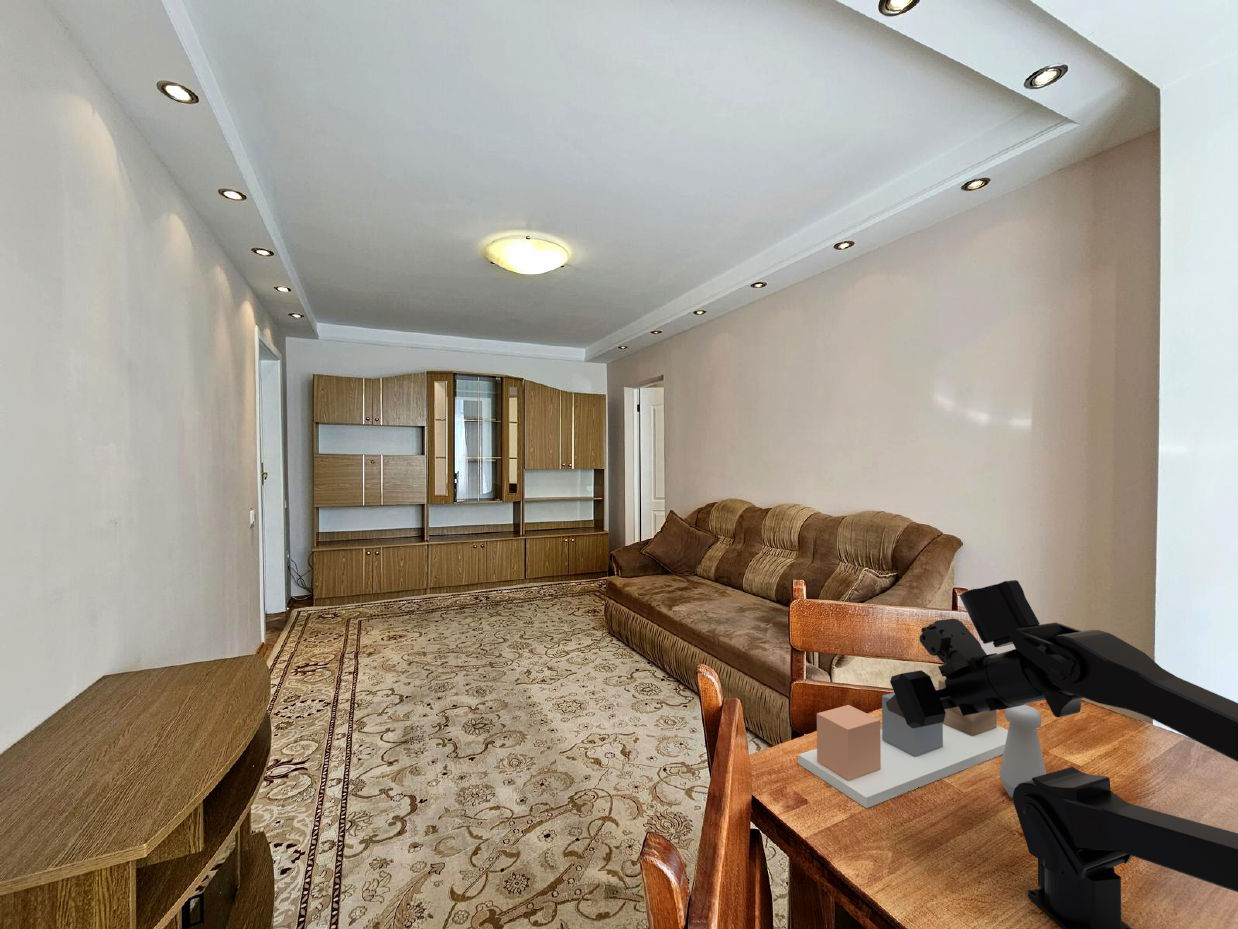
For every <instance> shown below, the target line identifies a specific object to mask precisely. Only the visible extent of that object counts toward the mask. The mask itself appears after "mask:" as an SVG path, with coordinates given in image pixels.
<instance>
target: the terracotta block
mask: <svg viewBox="0 0 1238 929" xmlns="http://www.w3.org/2000/svg"><path fill="white" fill-rule="evenodd" d="M880 729H881V719H879V718H877V717H875V716H873V715H871V714H868V713H866V712H864V711H862V710H860V709H858V708H856V707H854V706H851V704H847V705H843V706H840V707H836V708H832V709H829V710H825V711H820V712H817V713H816V749H817V761H818V762H819V763H821V764H822V765H824V766H826V767H827V768H829V769H830V770H832V771H834V772H835V773H837V774H838V775H840V776H842V777H843V778H845V779H846V780H851V779H854V778H857V777H860V776H862V775H865V774H868V773H871V772H874V771H876V770H879V769H881V741H880Z"/></svg>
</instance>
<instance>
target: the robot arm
mask: <svg viewBox="0 0 1238 929" xmlns="http://www.w3.org/2000/svg"><path fill="white" fill-rule="evenodd" d="M959 598H960V599H961V600H960V601H961V602H962V605H964V609H965V610H966V612H967V614H968V617H969V618H970V620H971V622H972V624H973V627H974V628H975V631H976V633H977V634H978V636H979V639H980V641H981V642H982V643H983V644H984V645H986V644H990V643H992V645H993V647H994V648H1000V647H1006V646H1011V645H1013V647H1014V649H1011V650H1006V651H1004V652H1001V653H997V652H995V653H990V654H987V653H986V652H985V650H984V648H983V647H982V645H981V644H982V643H980V642H979V640H978V639H977V637H975V636H974V634H973V633H972V632H971V631H970V630H969V628H968V627H967V626H966V625H965V624H964V623H963V622H962V621H961V620H959V619H957V618H947V619H940V620H935V621H934V622H933V623H930V624H928V626H923V627H922V628H921V629H920V631H921V634H920V635H919V636H918V637H919V639H918V640H919V642H920V644H921V645H922V646H923V647H924V649H925V650H926V651H927V653H928V654H929V655H930V656H934V657H935V656H936V657H937V658H938V659H939V661H941V662H942V663H944V664H941V665H938V670H939V671H940V675H941V676H942V677H944V679H945V678H946V679H945V686H946V687H945V688H943V689H940V690H939V689H936V687H935V684H934V682H933V680H932V678H931V676H930V675H929V674H928V673H926V672H925V671H923V670H914V671H908V672H902V673H898V674H895V675H892V676H891V677H890V680H889V683H890V685H891V689H892V691H893V693H895V695H894V696H893V697H891V698H890V699H889V700H888V701H887V702H886V706H887V708H888V710H889V711H890V712H892V713H895V714H897V715H899V716H901V717H903V718H905V720H906V723H907V725H908V726H910V727H911V728H912V729H913V728H918V727H924V726H928V725H933V724H938V723H942V722H944V719H945V715H946V712H945V710H944V709H949V708H954V707H959V708H960V710H961V713H962V715H963V716H965V715H970V714H975V713H980V712H985V711H993V710H996V711H997V710H998V711H1002V710H1005V709H1007V708H1012V707H1017V706H1021V705H1027V704H1031V703H1036V702H1041V701H1042V702H1043V701H1045V702H1046V704H1047V705H1048V707H1049V709H1050V711H1051V713H1052V715H1053V716H1054V717H1056V718H1063V717H1067V716H1071V715H1075V714H1080V713H1081V708H1082V700H1083V698H1084V699H1086V700H1089V701H1092V702H1094V703H1097V704H1101V705H1105V706H1111V707H1114V708H1119V709H1123V710H1129V711H1131V712H1134V713H1137V714H1140V715H1142V716H1145V717H1147V718H1149V719H1152V720H1153V721H1155V722H1157V723H1160V724H1161V725H1163V726H1166V727H1167V728H1169V729H1171V730H1174V731H1175V732H1178V733H1179V734H1182V735H1183V736H1185V737H1187V738H1189V739H1192V740H1193V741H1194V742H1195V741H1196V742H1198V743H1199V744H1201V745H1203V746H1205V747H1207V748H1209V749H1211V750H1213V751H1215V752H1217V753H1219V754H1221V755H1223V756H1225V757H1228V758H1229V759H1231V760H1233V761H1236V762H1237V763H1238V702H1236V701H1234V700H1231V699H1229V698H1227V697H1224V696H1222V695H1220V694H1218V693H1217V692H1214V691H1210V690H1209V689H1206V688H1203V687H1201V686H1199V685H1197V684H1196V683H1195V684H1194V683H1192V682H1190V681H1187V680H1185V679H1183V678H1181V677H1178V676H1176V675H1174V673H1171V672H1169V671H1168V670H1166V669H1164V668H1163V667H1161V666H1160V665H1159V664H1158V663H1157V662H1156V661H1155V660H1154V659H1153V658H1151V657H1150V656H1149V655H1148V654H1147V653H1145V652H1144V651H1143V650H1141V649H1139V648H1136V647H1135V646H1133V645H1132V644H1130V643H1128V642H1126V641H1124V640H1123V639H1121V638H1120V637H1118V636H1117V635H1114V634H1112V633H1110V632H1107V631H1103V630H1100V629H1091V630H1080V629H1076V628H1074V627H1072V626H1071V627H1070V626H1067V625H1064V624H1062V623H1058V622H1056V621H1055V622H1049V623H1043V624H1041V623H1040V621H1039V620H1038V617H1037V616H1036V614H1035V612H1034V610H1033V609H1032V607H1031V605H1030V603H1029V601H1028V600H1027V598H1026V596H1025V592H1024V589H1023V587H1022V585H1021V584H1020V582H1019V581H1018V580H1016V579H1015V580H1012V579H1011V580H1004V581H1002V582H999V583H997V584H992V585H988V586H984V587H979V588H971V589H969V590H967V591H964V592H962V593H961V594H960V595H959ZM1012 801H1013V806H1014V809H1015V812H1016V815H1017V818H1018V821H1019V823H1020V827H1021V831H1022V833H1023V837H1024V840H1025V844H1026V846H1027V851H1028V852H1029V854H1030V855H1031V856H1033V857H1034V858H1036V859H1037V885H1038V887H1039V888H1037V889H1028V890H1027V897H1028V898H1029V899H1030V900H1031V901H1032V902H1034V903H1035V904H1036V905H1037V906H1038V908H1040V909H1041V910H1042V911H1043V912H1044V913H1045V914H1047V916H1049V917H1050V919H1051V920H1053V921H1054V922H1055V923H1056V924H1058V925H1059V927H1061V928H1062V929H1132V928H1131V927H1130V926H1129V925H1128V924H1127V923H1125V922H1124V921H1123V920H1122V877H1121V876H1120V875H1118V874H1117V873H1116V872H1115V868H1114V867H1117V866H1118V865H1121V864H1128V863H1130V862H1131V860H1132V859H1133V857H1135V858H1137V859H1140V860H1143V861H1147V862H1148V863H1152V864H1154V865H1157V866H1161V867H1163V868H1166V869H1168V870H1172V871H1175V872H1177V873H1180V874H1184V875H1186V876H1190V877H1191V878H1195V879H1198V880H1200V881H1204V882H1207V883H1210V884H1211V885H1212V884H1213V885H1215V886H1218V887H1220V888H1224V889H1227V890H1230V891H1232V892H1236V893H1238V832H1234V831H1231V830H1228V829H1227V830H1226V829H1224V828H1219V827H1216V826H1212V825H1208V824H1205V823H1200V822H1198V821H1194V820H1191V819H1188V818H1185V817H1184V818H1183V817H1179V816H1176V815H1172V814H1168V813H1165V812H1160V811H1157V810H1154V809H1151V808H1148V807H1143V806H1139V805H1136V804H1132V803H1130V802H1128V801H1126V800H1125V799H1123V798H1121V797H1120V796H1119V795H1117V794H1116V793H1114V792H1113V791H1112V790H1111V779H1110V777H1108V776H1106V775H1099V774H1097V775H1096V774H1090V773H1089V774H1088V773H1085V772H1084V771H1080V770H1079V769H1077V768H1075V767H1074V766H1070V767H1066V768H1063V769H1059V770H1058V769H1057V770H1054V771H1051V772H1047V773H1046V774H1044V775H1041V776H1037V777H1033V778H1032V780H1030V781H1026V782H1023V783H1019V784H1018V785H1017V787H1016V788H1015V789H1014V793H1013V799H1012Z"/></svg>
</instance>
